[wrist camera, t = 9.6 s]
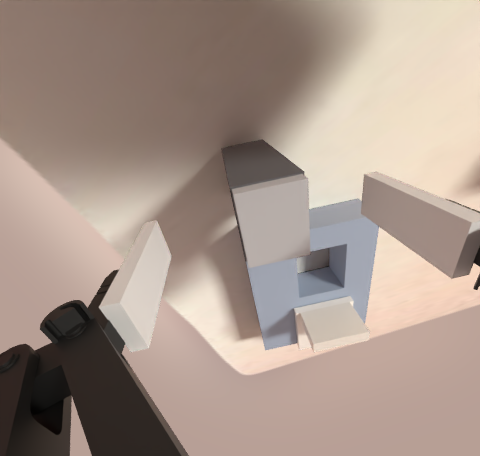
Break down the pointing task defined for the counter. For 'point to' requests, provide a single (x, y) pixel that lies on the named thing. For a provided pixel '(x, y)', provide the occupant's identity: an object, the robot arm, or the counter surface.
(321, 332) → the shutter
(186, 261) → the counter surface
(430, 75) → the counter surface
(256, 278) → the socket board
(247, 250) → the plug
